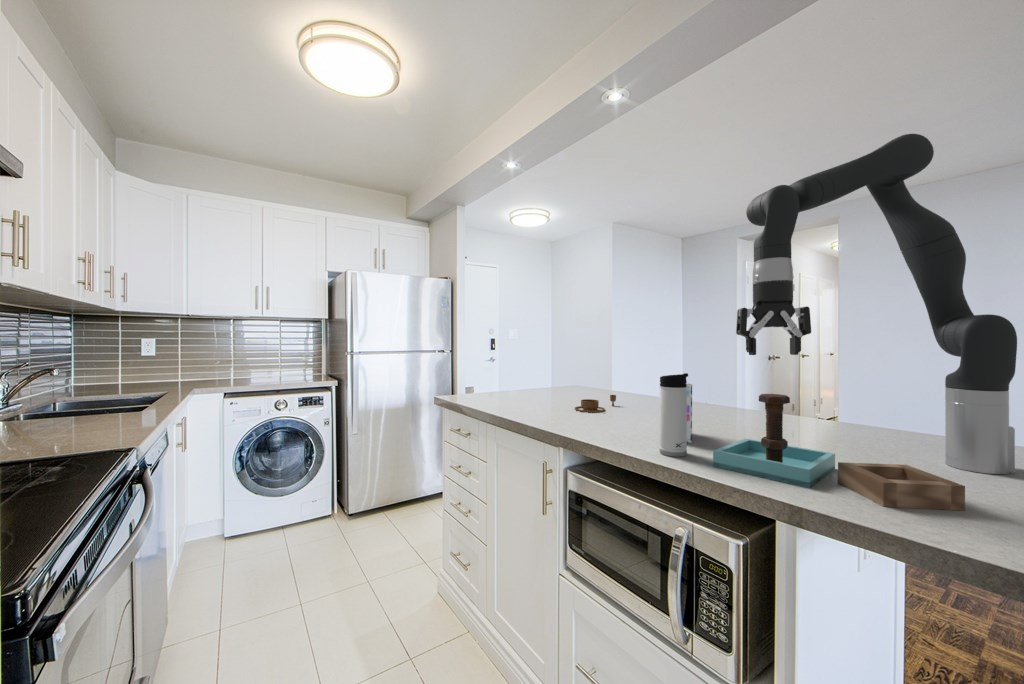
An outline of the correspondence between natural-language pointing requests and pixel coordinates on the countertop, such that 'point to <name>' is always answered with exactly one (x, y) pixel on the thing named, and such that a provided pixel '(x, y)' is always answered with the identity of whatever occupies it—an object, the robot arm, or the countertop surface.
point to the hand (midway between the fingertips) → (773, 354)
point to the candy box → (689, 412)
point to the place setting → (593, 405)
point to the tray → (795, 468)
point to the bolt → (774, 426)
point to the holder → (901, 486)
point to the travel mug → (673, 415)
